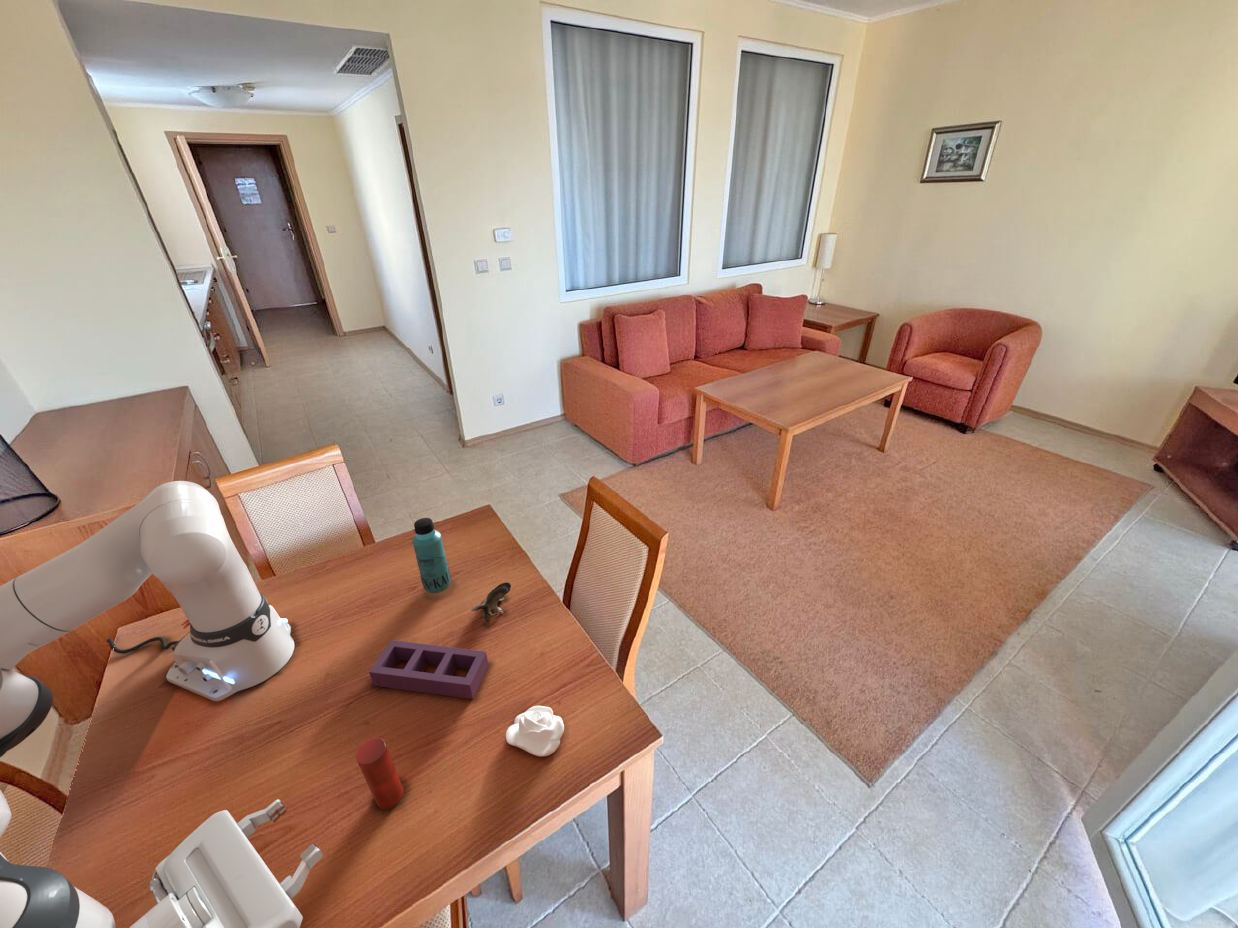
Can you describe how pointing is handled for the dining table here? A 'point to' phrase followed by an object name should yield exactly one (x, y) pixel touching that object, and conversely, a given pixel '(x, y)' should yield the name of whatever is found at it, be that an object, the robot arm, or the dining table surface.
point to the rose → (536, 731)
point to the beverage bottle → (430, 556)
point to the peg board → (429, 682)
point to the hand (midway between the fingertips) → (300, 825)
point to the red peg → (380, 773)
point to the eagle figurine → (493, 601)
